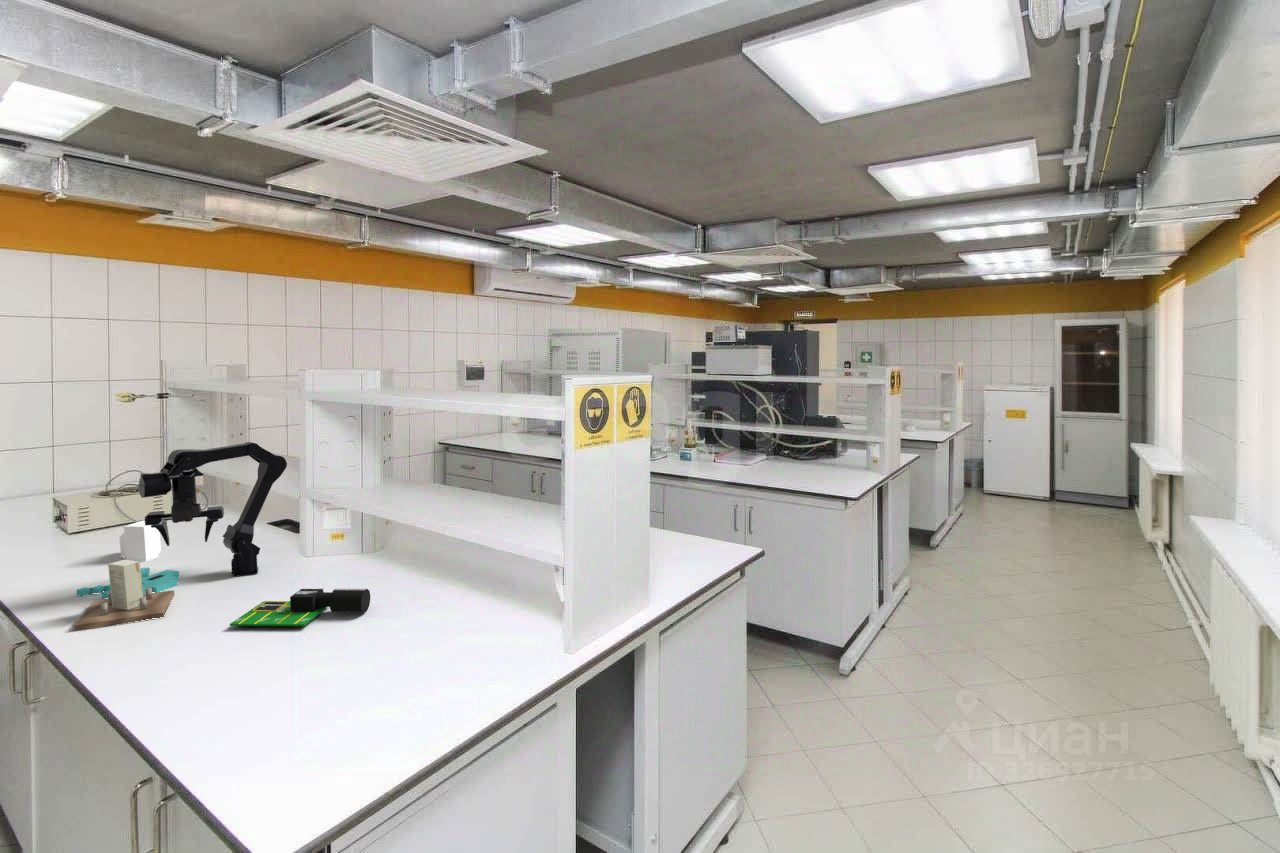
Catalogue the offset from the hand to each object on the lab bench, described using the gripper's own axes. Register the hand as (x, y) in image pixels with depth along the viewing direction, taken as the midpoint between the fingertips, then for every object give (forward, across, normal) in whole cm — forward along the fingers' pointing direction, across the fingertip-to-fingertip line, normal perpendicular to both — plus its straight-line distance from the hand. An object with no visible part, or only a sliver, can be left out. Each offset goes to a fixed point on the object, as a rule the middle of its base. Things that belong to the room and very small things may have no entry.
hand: (187, 543), depth 188 cm
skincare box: (+12, -12, -16) cm, 23 cm away
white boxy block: (+13, -18, +41) cm, 47 cm away
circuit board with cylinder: (+13, +30, -42) cm, 53 cm away
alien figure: (+14, -13, +6) cm, 20 cm away
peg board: (+13, -12, -16) cm, 24 cm away
